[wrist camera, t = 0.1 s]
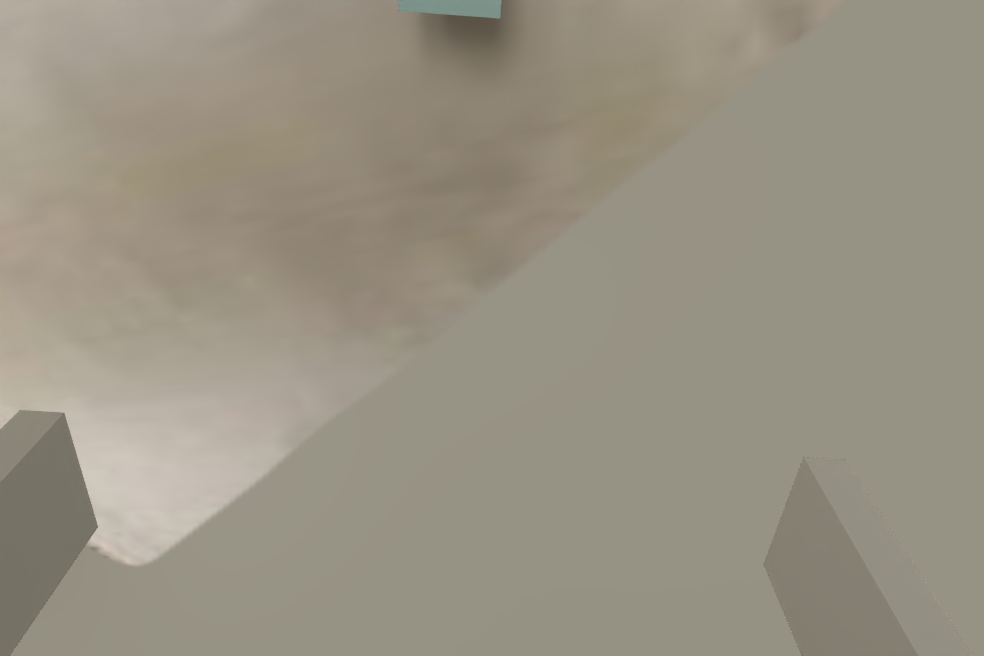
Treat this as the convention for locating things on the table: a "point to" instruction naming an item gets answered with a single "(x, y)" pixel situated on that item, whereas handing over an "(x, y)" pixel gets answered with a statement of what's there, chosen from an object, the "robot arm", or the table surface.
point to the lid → (454, 7)
